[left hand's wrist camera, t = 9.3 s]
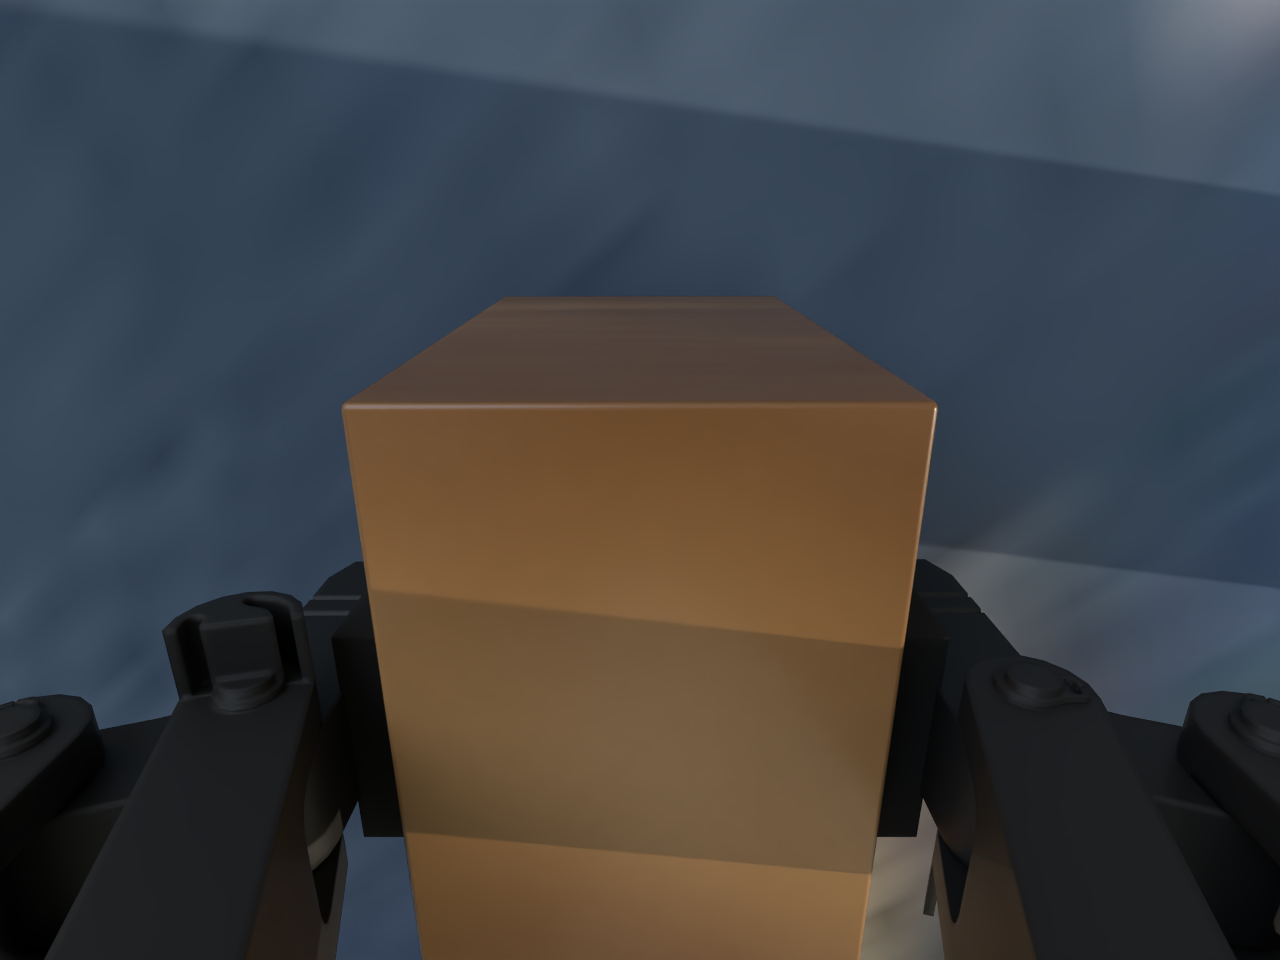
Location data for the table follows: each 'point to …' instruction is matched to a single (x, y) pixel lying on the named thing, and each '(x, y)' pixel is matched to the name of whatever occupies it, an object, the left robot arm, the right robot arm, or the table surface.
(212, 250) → the table surface
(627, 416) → the bar
